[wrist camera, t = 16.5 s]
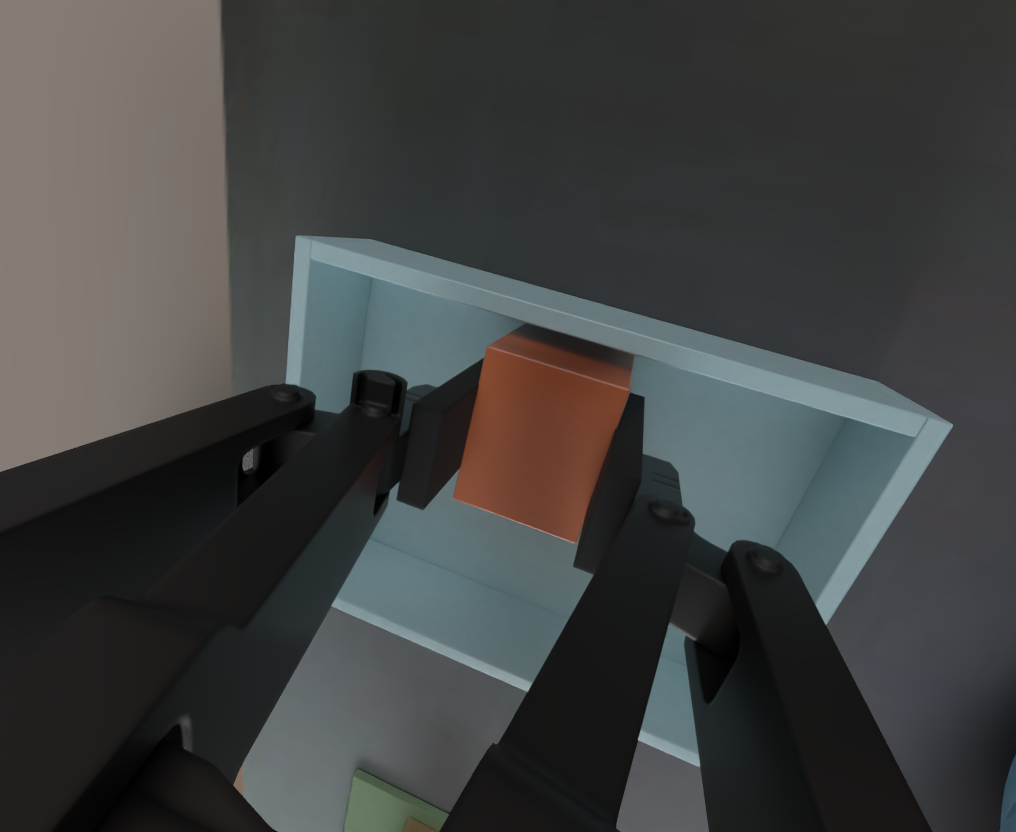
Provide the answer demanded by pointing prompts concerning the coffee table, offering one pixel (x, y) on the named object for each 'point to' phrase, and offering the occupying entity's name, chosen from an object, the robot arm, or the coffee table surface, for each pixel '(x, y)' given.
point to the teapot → (1009, 801)
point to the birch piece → (416, 826)
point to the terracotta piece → (542, 428)
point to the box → (667, 436)
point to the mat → (386, 807)
